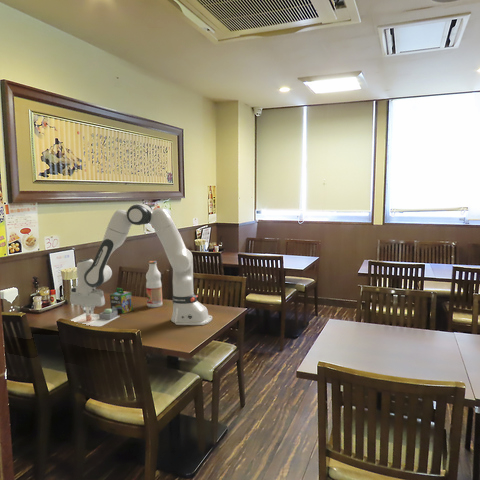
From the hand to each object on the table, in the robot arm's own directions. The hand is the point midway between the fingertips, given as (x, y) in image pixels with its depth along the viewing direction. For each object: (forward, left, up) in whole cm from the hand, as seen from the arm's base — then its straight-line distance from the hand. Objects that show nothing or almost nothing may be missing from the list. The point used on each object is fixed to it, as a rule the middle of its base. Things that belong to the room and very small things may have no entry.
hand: (88, 313), depth 214 cm
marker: (0, 0, -4) cm, 4 cm away
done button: (-8, -7, -3) cm, 11 cm away
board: (0, -2, -5) cm, 5 cm away
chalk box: (-7, -20, -5) cm, 22 cm away
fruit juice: (-20, -36, -5) cm, 42 cm away
